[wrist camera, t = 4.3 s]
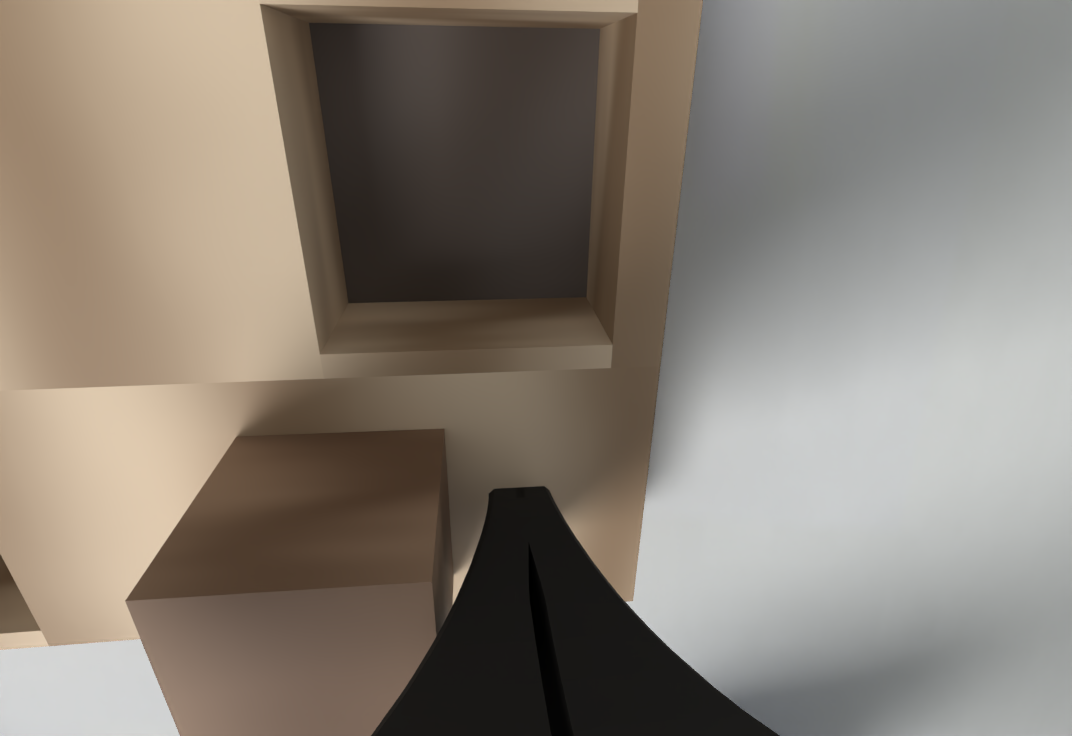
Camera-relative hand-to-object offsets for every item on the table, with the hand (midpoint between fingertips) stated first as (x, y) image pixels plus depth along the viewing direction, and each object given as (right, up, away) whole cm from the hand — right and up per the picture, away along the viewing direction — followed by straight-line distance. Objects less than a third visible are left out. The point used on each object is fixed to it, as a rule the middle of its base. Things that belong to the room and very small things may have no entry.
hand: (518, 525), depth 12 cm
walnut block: (-4, 0, 0) cm, 3 cm away
